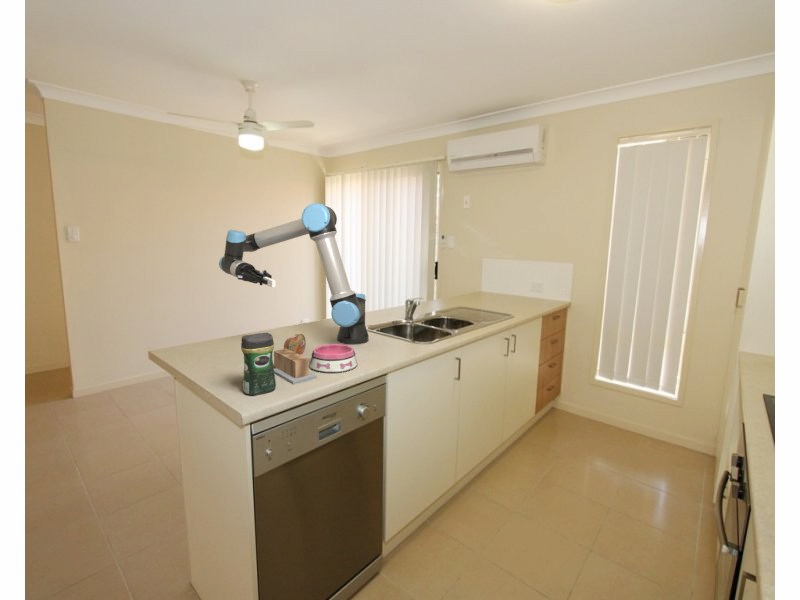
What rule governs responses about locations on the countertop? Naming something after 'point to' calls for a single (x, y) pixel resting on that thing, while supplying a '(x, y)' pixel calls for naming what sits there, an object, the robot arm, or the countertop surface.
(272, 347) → the coffee jar
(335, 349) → the dog bowl
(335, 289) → the robot arm
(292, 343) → the tin
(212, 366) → the countertop surface
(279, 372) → the mat
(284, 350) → the walnut block
